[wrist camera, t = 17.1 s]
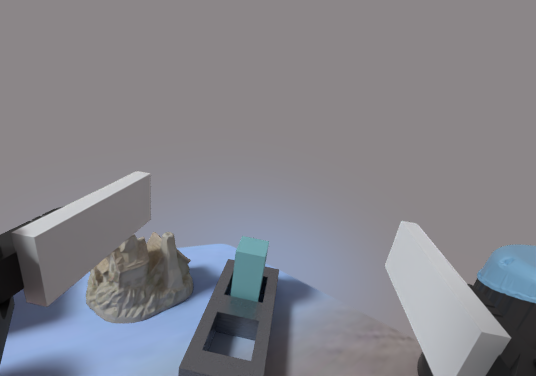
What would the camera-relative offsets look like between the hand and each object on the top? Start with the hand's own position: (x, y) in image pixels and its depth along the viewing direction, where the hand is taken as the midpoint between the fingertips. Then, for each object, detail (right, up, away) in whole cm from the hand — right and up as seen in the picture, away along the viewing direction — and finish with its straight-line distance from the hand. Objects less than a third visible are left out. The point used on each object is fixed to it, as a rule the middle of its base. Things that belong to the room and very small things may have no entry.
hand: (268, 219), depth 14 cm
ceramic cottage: (-23, -16, +34) cm, 44 cm away
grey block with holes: (-5, -20, +29) cm, 36 cm away
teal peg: (-4, -19, +34) cm, 39 cm away
